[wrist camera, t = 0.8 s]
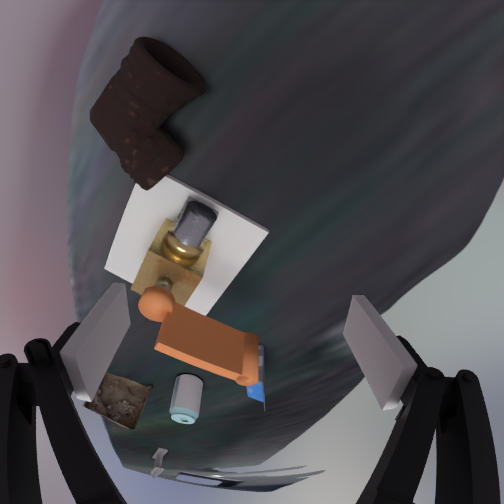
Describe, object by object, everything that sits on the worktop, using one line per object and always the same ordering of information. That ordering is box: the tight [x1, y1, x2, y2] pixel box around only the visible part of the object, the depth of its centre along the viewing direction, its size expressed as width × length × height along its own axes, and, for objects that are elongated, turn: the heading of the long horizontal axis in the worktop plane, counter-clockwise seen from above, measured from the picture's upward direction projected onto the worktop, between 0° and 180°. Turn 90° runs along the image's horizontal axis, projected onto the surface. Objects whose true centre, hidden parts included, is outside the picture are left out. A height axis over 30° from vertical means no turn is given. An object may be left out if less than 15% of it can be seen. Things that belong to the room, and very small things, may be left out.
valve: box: [131, 196, 219, 306], centre depth 41 cm, size 20×8×12 cm, turn 148°
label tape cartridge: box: [246, 344, 265, 412], centre depth 58 cm, size 9×4×12 cm, turn 3°
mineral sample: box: [83, 372, 152, 429], centre depth 66 cm, size 17×4×15 cm, turn 67°
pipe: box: [90, 37, 206, 191], centre depth 32 cm, size 10×15×15 cm
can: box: [170, 374, 203, 424], centre depth 65 cm, size 7×7×12 cm
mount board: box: [105, 174, 269, 316], centre depth 47 cm, size 22×21×1 cm
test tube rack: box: [150, 448, 168, 478], centre depth 110 cm, size 25×4×13 cm, turn 156°
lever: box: [138, 286, 259, 386], centre depth 35 cm, size 17×4×7 cm, turn 58°
